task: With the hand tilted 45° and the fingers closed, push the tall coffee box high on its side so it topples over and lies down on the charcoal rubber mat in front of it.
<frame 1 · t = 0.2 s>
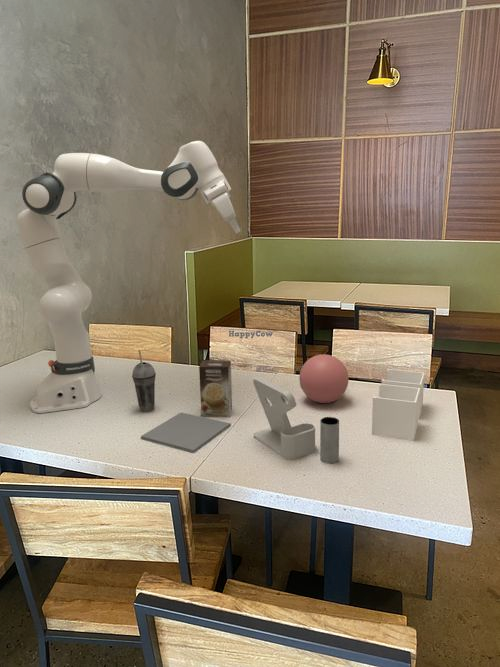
hand: (238, 232, 152), 54 cm above the table, tool tilted 25°, fingers open, 8 cm apart
gray cylinder: (329, 459, 122), on the table
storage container: (398, 420, 143), on the table
phone holder: (284, 443, 131), on the table
beverage cup: (147, 410, 156), on the table
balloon: (326, 399, 160), on the table
coffee box: (217, 413, 152), on the table
mat: (186, 432, 139), on the table
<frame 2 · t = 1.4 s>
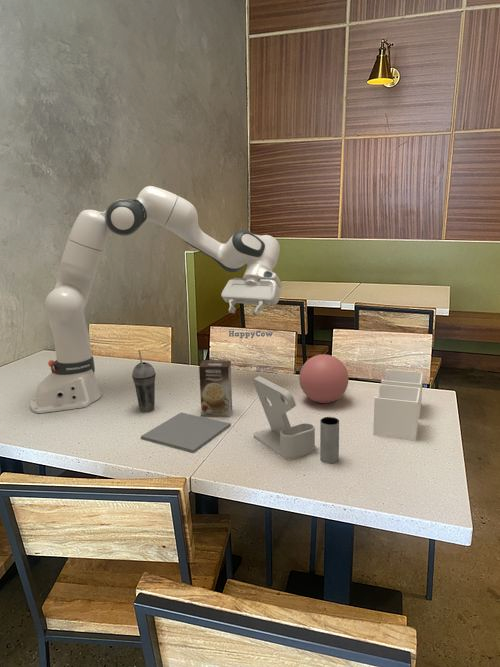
hand: (242, 313, 159), 28 cm above the table, tool tilted 45°, fingers open, 8 cm apart
nothing on the table moved.
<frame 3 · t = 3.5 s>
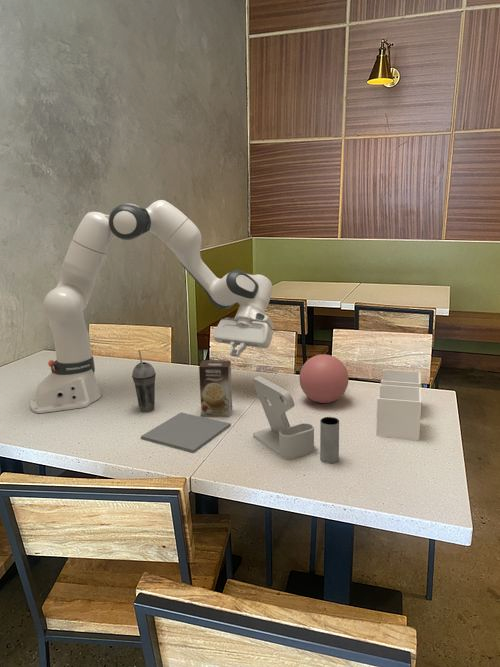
hand: (234, 355, 157), 15 cm above the table, tool tilted 45°, fingers closed
nothing on the table moved.
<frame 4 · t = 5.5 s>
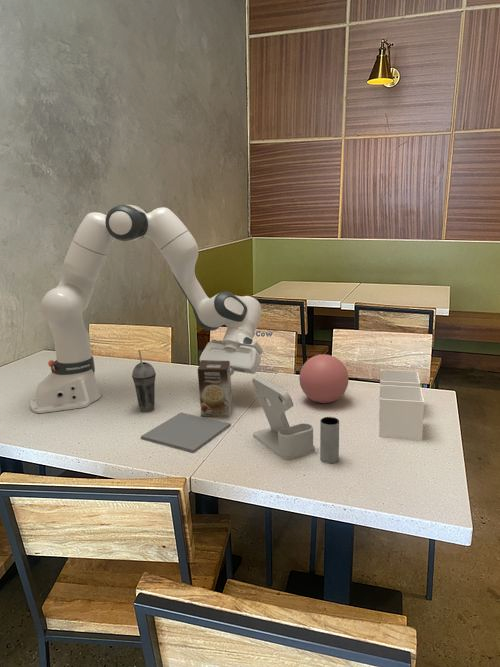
hand: (221, 381, 152), 9 cm above the table, tool tilted 45°, fingers closed
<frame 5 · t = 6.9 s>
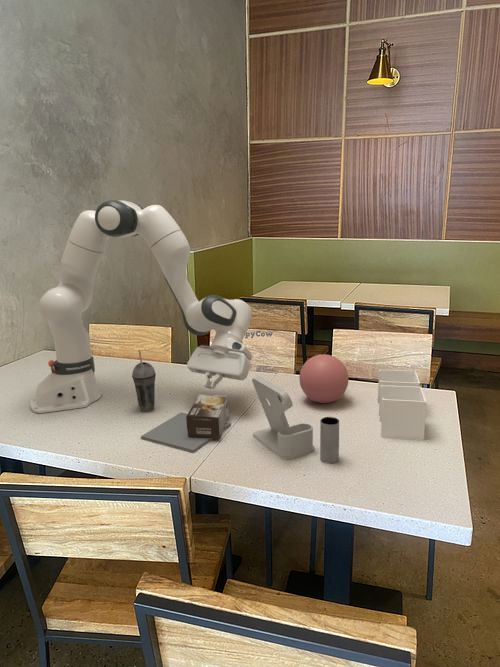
hand: (208, 387, 146), 9 cm above the table, tool tilted 45°, fingers closed
coffee box: (214, 404, 148), point 4 cm above the table, touching mat
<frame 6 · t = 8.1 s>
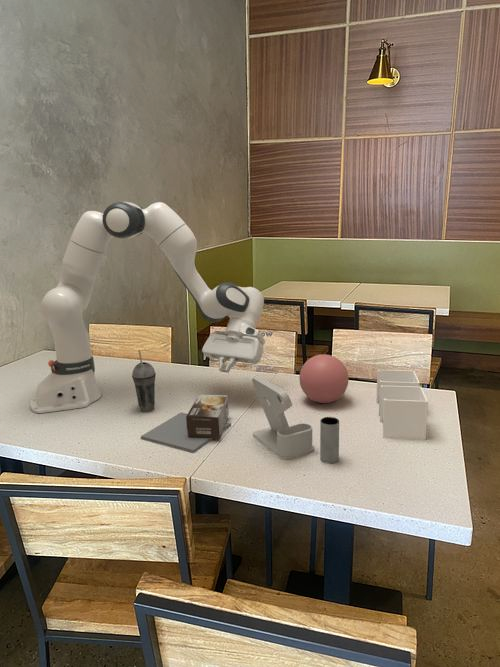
hand: (223, 371, 152), 12 cm above the table, tool tilted 45°, fingers closed
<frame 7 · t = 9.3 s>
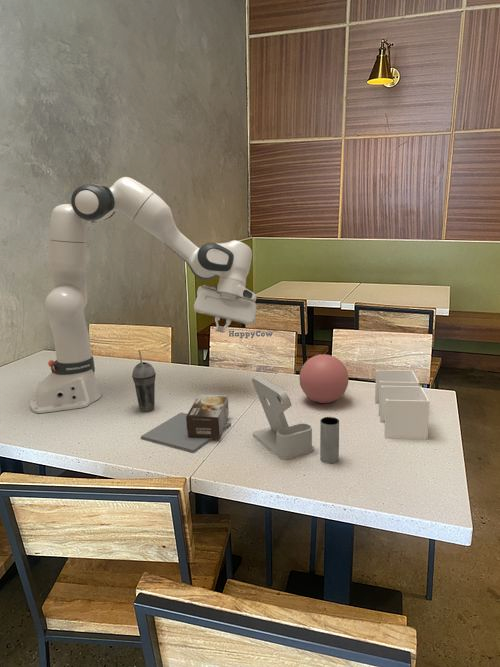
hand: (219, 331, 157), 23 cm above the table, tool tilted 25°, fingers closed
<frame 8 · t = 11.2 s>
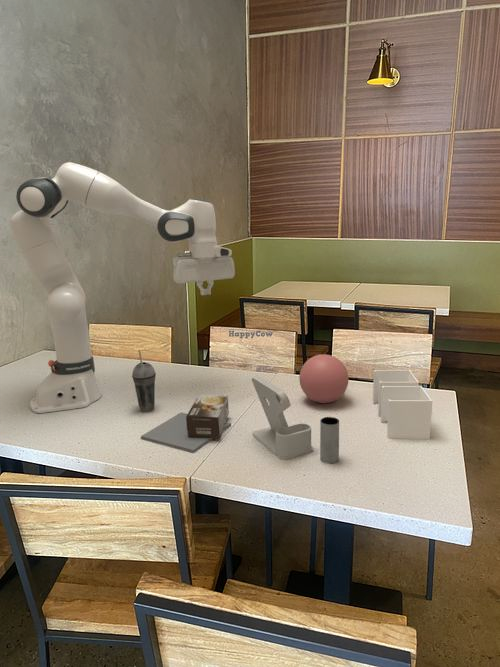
hand: (205, 294, 159), 34 cm above the table, tool pointing down, fingers closed
at the end: coffee box tilted 90°; coffee box touching mat; the gripper is holding nothing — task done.
